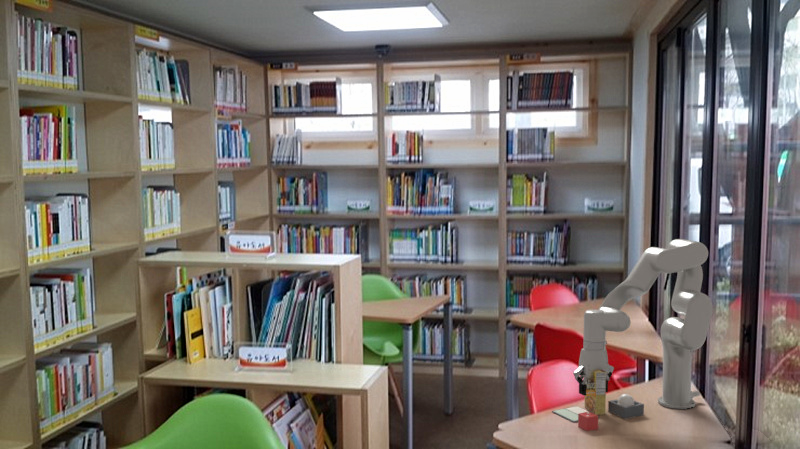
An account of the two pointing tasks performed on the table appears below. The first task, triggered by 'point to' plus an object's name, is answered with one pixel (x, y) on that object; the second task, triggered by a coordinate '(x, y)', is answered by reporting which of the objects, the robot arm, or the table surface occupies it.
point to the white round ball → (625, 400)
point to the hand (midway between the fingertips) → (593, 392)
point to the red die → (588, 421)
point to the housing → (625, 409)
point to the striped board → (570, 413)
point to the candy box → (596, 393)
